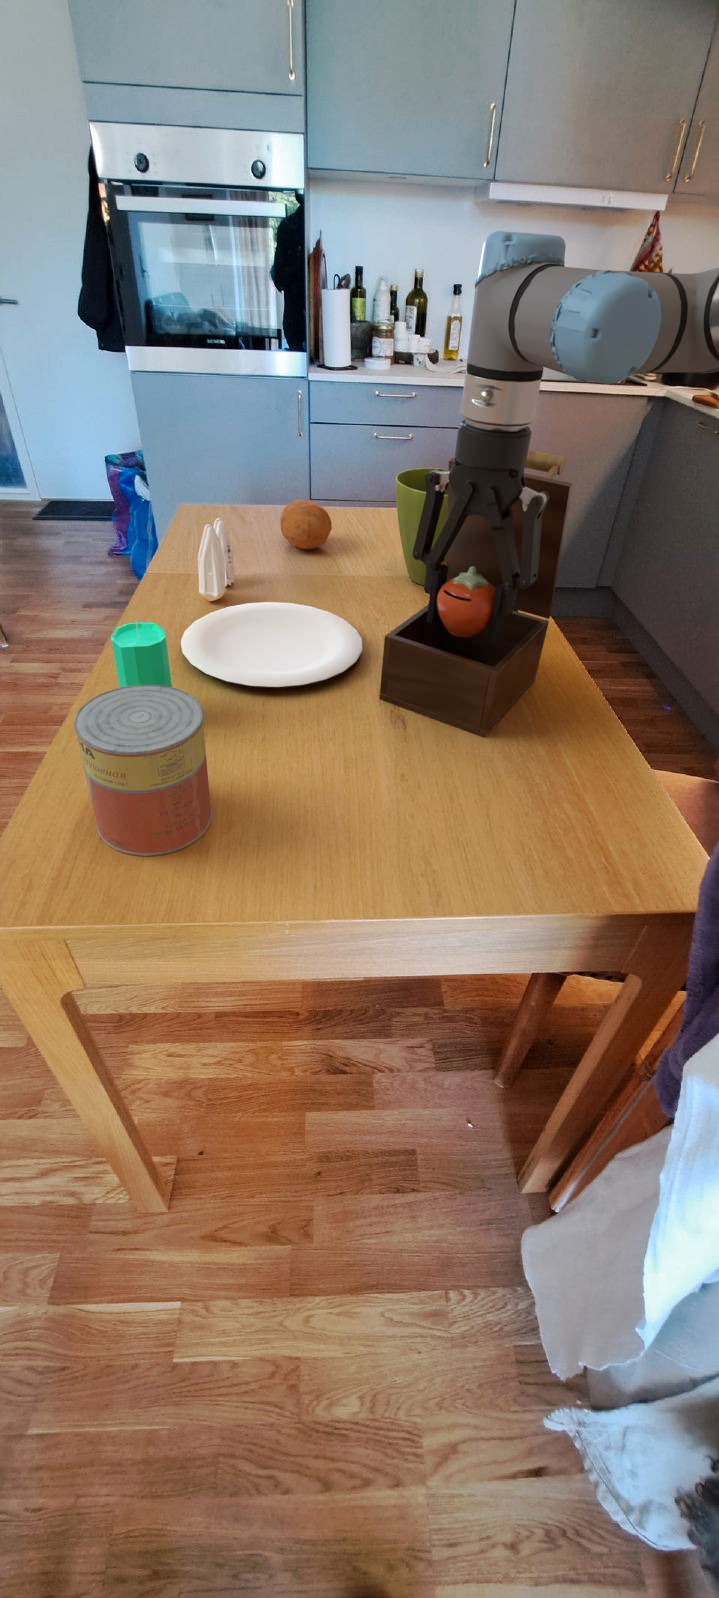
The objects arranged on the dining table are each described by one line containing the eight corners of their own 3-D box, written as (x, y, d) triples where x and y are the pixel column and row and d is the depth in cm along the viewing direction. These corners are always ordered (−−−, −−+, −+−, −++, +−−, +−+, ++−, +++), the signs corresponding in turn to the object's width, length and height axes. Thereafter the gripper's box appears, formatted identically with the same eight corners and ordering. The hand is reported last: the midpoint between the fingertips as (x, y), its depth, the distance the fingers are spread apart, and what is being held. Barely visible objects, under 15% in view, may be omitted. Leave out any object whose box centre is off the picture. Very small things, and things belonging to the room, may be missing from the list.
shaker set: (222, 608, 112) (218, 535, 105) (195, 606, 112) (189, 533, 105) (237, 577, 121) (234, 509, 114) (212, 575, 121) (207, 507, 114)
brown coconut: (329, 536, 139) (330, 495, 134) (333, 558, 130) (334, 515, 126) (280, 534, 138) (280, 493, 133) (280, 557, 129) (280, 513, 125)
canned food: (108, 782, 78) (88, 683, 70) (216, 783, 79) (208, 685, 71) (85, 856, 69) (59, 752, 61) (207, 855, 70) (196, 753, 62)
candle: (145, 696, 91) (131, 605, 84) (185, 709, 89) (175, 617, 82) (113, 718, 87) (95, 625, 79) (154, 733, 85) (140, 638, 78)
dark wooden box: (485, 737, 88) (497, 672, 83) (379, 699, 94) (384, 635, 88) (534, 681, 100) (549, 620, 94) (437, 649, 105) (445, 590, 100)
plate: (391, 679, 98) (392, 668, 97) (205, 710, 90) (204, 698, 88) (325, 603, 115) (325, 592, 114) (165, 622, 107) (163, 611, 106)
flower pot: (408, 555, 133) (417, 461, 123) (486, 573, 129) (502, 477, 119) (373, 583, 123) (379, 483, 113) (456, 603, 118) (471, 501, 108)
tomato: (420, 629, 89) (428, 565, 84) (455, 611, 94) (464, 549, 89) (471, 650, 85) (482, 584, 80) (505, 630, 90) (517, 567, 85)
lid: (570, 486, 80) (601, 447, 85) (448, 460, 86) (484, 425, 91) (548, 619, 94) (576, 578, 99) (445, 589, 99) (476, 552, 104)
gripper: (392, 411, 76) (376, 616, 91) (579, 447, 69) (530, 665, 83) (425, 400, 81) (405, 596, 96) (603, 433, 74) (553, 640, 88)
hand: (463, 628), depth 89 cm, fingers closed on tomato, 7 cm apart
